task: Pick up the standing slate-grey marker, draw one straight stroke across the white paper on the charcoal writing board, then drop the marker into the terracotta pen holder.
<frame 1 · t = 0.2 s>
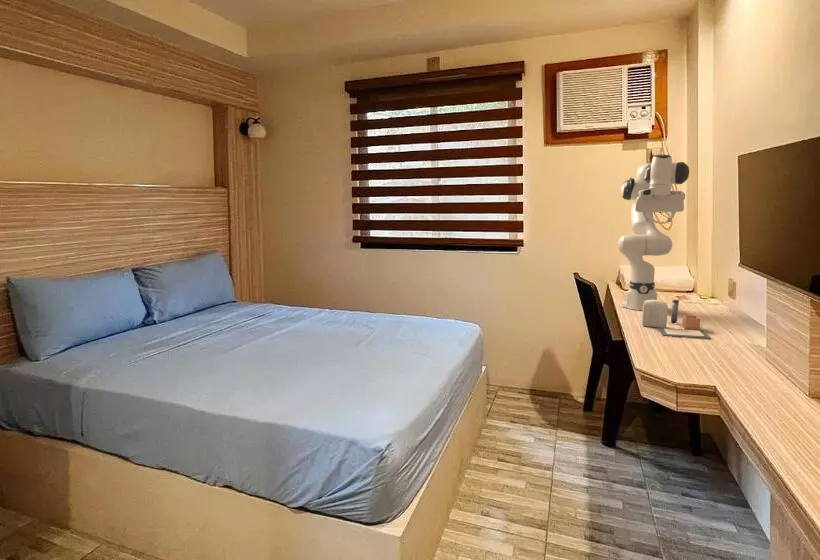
hand: (657, 221, 232), 47 cm above the table, tool pointing down, fingers open, 8 cm apart
photo printer: (653, 326, 232), on the table
pen holder: (690, 328, 227), on the table
writing board: (683, 333, 219), on the table
marker: (673, 323, 237), on the table
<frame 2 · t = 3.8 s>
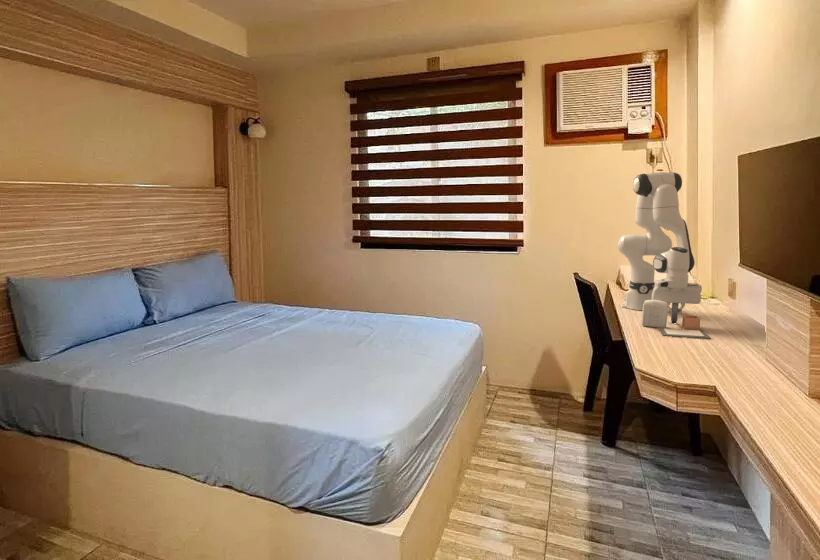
hand: (674, 312, 236), 5 cm above the table, tool pointing down, fingers closed on marker, 3 cm apart
marker: (673, 323, 237), on the table, touching gripper
everything else where it was.
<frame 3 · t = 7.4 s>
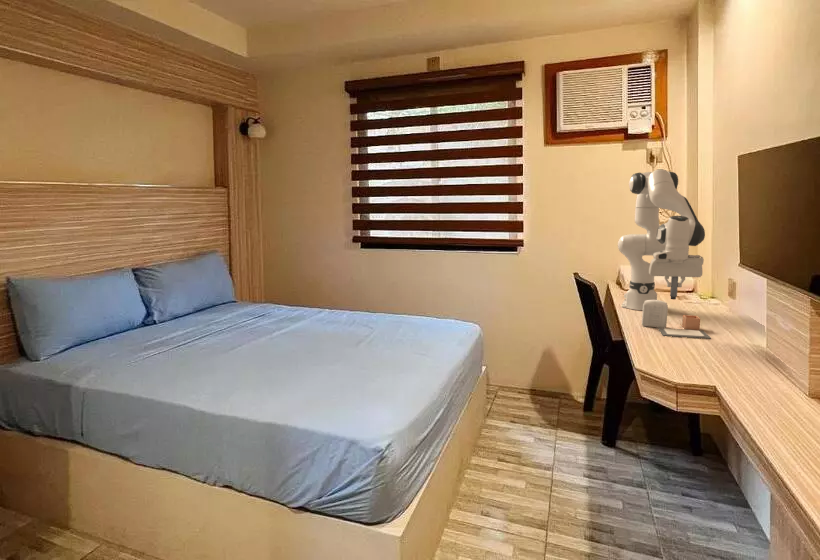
hand: (674, 286, 217), 20 cm above the table, tool pointing down, fingers closed on marker, 3 cm apart
marker: (673, 299, 218), point 15 cm above the table, touching gripper
everything else where it was.
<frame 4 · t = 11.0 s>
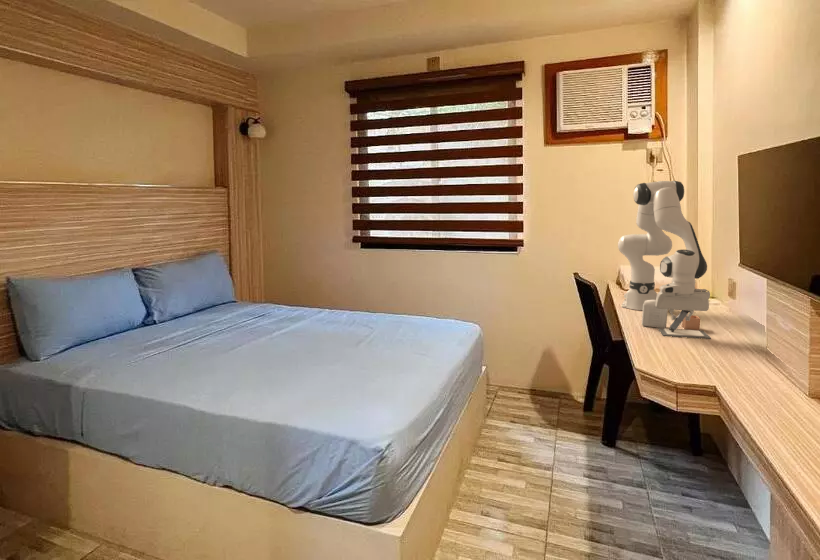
hand: (680, 320, 218), 6 cm above the table, tool pointing down, fingers closed on marker, 4 cm apart
marker: (671, 330, 220), point 1 cm above the table, tilted 29°, touching gripper, writing board
everything else where it was.
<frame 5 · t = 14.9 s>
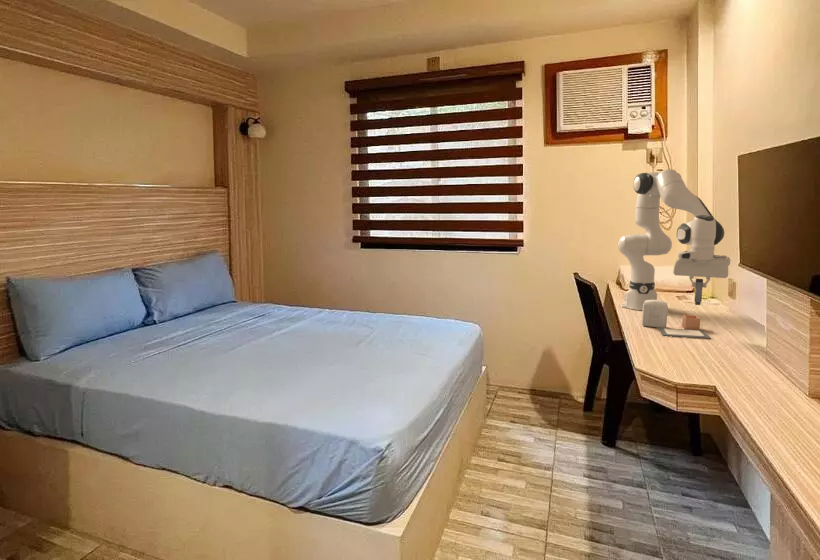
hand: (698, 286, 216), 21 cm above the table, tool pointing down, fingers closed on marker, 3 cm apart
marker: (697, 304, 217), point 13 cm above the table, touching gripper
everything else where it was.
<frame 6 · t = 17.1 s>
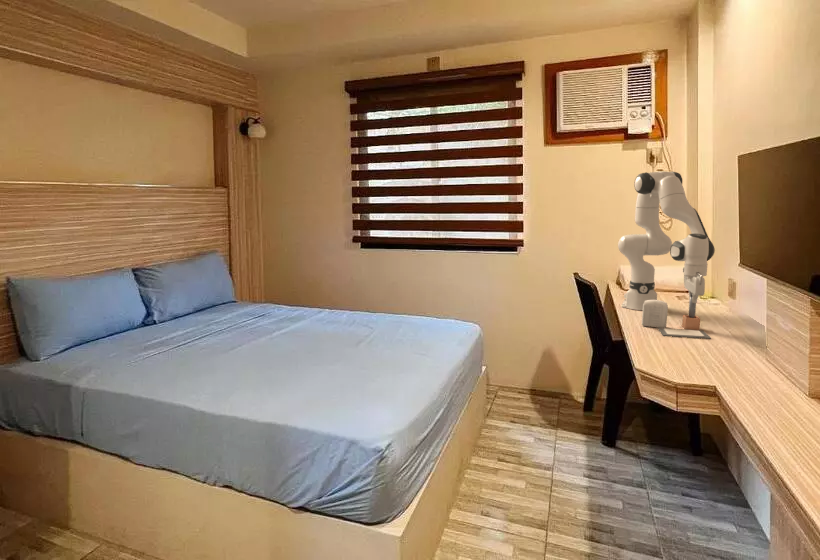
hand: (692, 301, 225), 12 cm above the table, tool pointing down, fingers closed on marker, 3 cm apart
marker: (691, 318, 226), point 5 cm above the table, touching gripper
everything else where it was.
when the fingers open (8 cm above the table, at t = 18.2 s): marker stays where it is, resting on pen holder.
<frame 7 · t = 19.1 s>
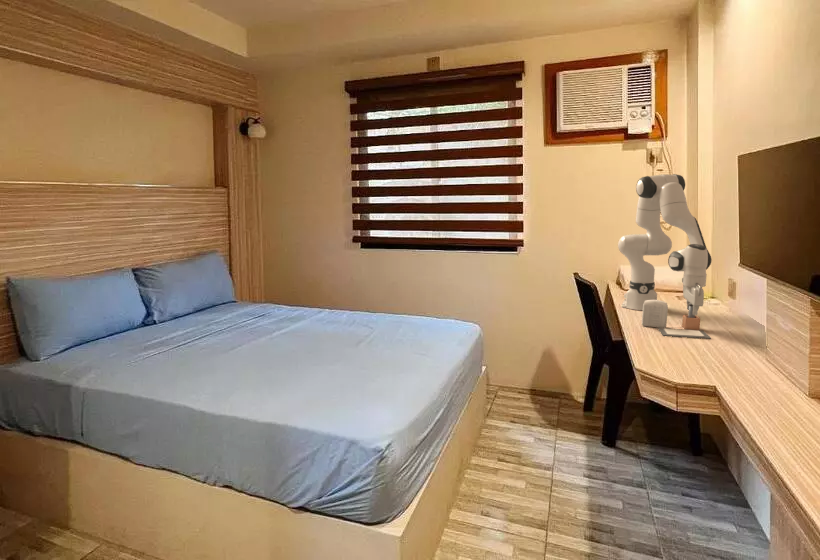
hand: (691, 312, 226), 8 cm above the table, tool pointing down, fingers open, 8 cm apart
marker: (690, 327, 227), resting on pen holder
everything else where it was.
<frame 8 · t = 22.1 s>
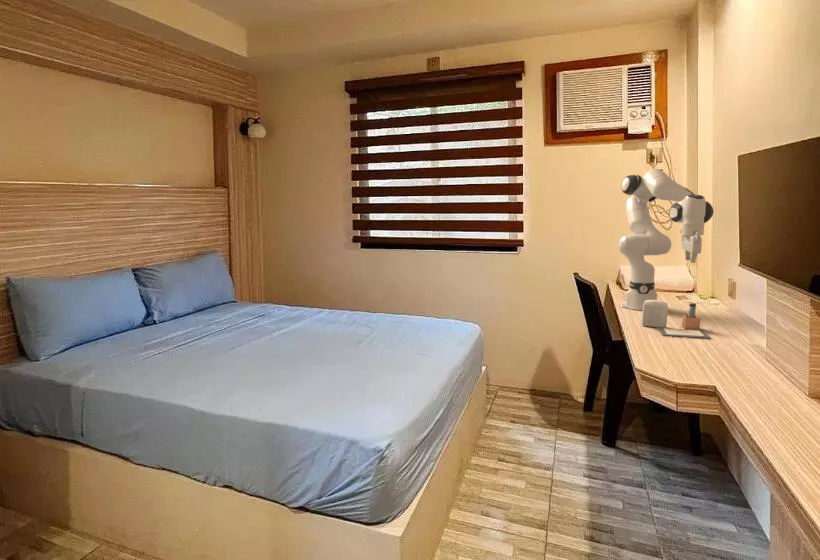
hand: (690, 261, 232), 29 cm above the table, tool pointing down, fingers open, 8 cm apart
nothing on the table moved.
at the end: marker 0.1 cm off-centre on the pen holder, point 0.5 cm above the pen holder's base; the gripper is holding nothing; marker moved 10.4 cm from its start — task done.
